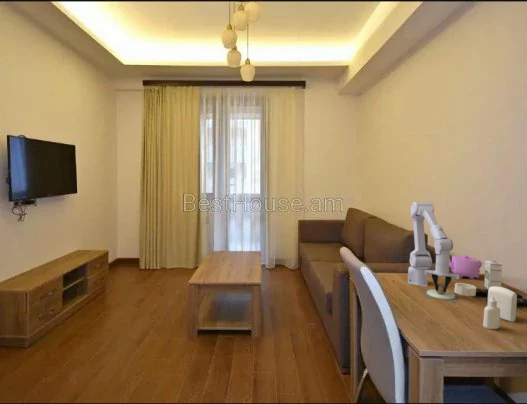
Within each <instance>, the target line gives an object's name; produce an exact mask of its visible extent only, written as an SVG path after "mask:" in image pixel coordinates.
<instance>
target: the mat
mask: <svg viewBox="0 0 527 404" xmlns="http://www.w3.org/2000/svg"><path fill="white" fill-rule="evenodd" d="M428 290H431V289H430V288H429V289H428V288H426V290H425V293H424V296H423V297H424V298H427V299H434V300H440V301H445V302H451V303H456V302H457V295H458V294H457V293H455V292H454V293H453V292H451V293H452V294H454V295H455V299H453V300H442V299H436V298H433V297H431V296H429V295H427V291H428Z"/></svg>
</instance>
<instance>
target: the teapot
mask: <svg viewBox="0 0 527 404" xmlns="http://www.w3.org/2000/svg"><path fill="white" fill-rule="evenodd" d="M482 266H483V262H482V261H481V260H480V259H477V258H476V257H475V256H474V257H473V256H469V255H466V254H463V255H461V256H459V255H452V256H451V258H450V259H449V268H451V270H450V271H451V273H454V274H459V279H462V278H463V277H468V278H469V279H470V280H475V278H480V272H481V271H480V268H482Z"/></svg>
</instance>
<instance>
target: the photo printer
mask: <svg viewBox="0 0 527 404" xmlns="http://www.w3.org/2000/svg"><path fill="white" fill-rule="evenodd" d="M487 290H488V289H487ZM492 297H494V299H495V300H496V301H497V305H496V307H498V308H500V319H502V320H506V321H509V322H511V323H512V322H515V321H516V319H517V303H518V301H517V300H518V295H517V293H516V292H514V291H513V290H511V289H508V288H506V287H503V286H501V287H497V286H493V287H490V288H489V290H488V292H487V304H486V307H487V306H489V300H490V299H492Z"/></svg>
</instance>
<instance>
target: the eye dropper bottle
mask: <svg viewBox="0 0 527 404" xmlns="http://www.w3.org/2000/svg"><path fill="white" fill-rule="evenodd" d="M496 305H497V301H496V300H495V299H494V297H492V299H490V300H489V306H487V305H486V306H485V307H484V309H483V310H484V311H483V322H482V327H484V328H485V329H488V330H496V329H497V330H498V329H499V328H500V320H501V318H500V308H498V307H496Z"/></svg>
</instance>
